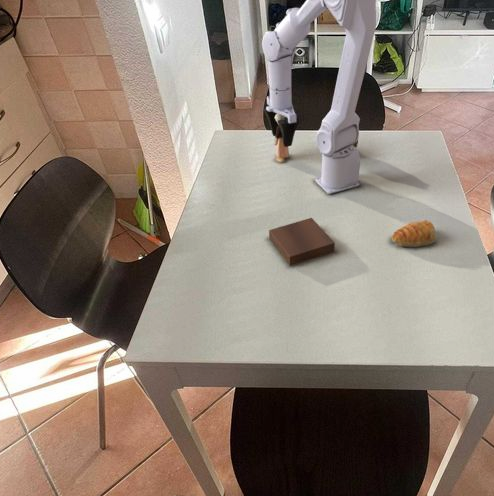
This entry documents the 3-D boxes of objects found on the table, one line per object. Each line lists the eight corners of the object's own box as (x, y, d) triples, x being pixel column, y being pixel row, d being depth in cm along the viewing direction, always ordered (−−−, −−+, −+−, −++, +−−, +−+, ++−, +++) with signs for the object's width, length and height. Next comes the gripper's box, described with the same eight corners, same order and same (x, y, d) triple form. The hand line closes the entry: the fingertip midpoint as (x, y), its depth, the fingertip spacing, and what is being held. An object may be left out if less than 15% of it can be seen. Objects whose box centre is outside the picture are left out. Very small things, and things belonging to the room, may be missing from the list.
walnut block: (311, 226, 102) (311, 217, 100) (334, 252, 95) (334, 242, 93) (269, 239, 99) (268, 230, 97) (289, 266, 92) (289, 256, 90)
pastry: (399, 252, 94) (402, 238, 92) (385, 236, 99) (388, 221, 96) (437, 244, 96) (441, 229, 93) (421, 228, 100) (425, 213, 98)
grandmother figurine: (286, 164, 121) (285, 117, 112) (273, 163, 122) (271, 116, 112) (291, 152, 126) (291, 106, 116) (279, 151, 127) (277, 105, 117)
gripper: (255, 80, 113) (259, 133, 123) (278, 99, 104) (280, 154, 115) (279, 75, 115) (281, 128, 125) (303, 93, 106) (303, 148, 117)
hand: (282, 140), depth 120 cm, fingers open, 7 cm apart
